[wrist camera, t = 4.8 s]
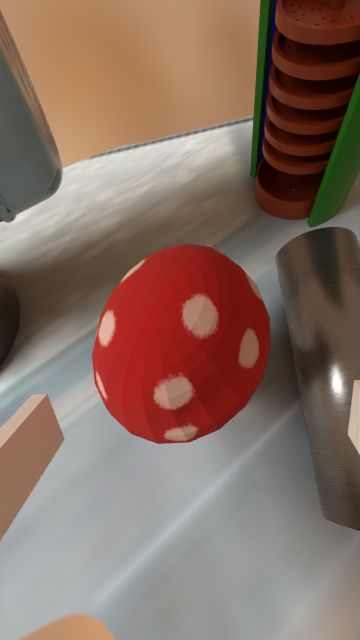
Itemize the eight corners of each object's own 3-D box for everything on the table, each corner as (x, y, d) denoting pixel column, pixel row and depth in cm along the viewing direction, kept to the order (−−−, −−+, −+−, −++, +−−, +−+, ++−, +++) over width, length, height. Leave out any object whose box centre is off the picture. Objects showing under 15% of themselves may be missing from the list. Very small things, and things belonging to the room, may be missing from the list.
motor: (231, 193, 30) (229, -170, 12) (282, 144, 32) (350, -248, 13) (313, 238, 26) (495, -196, 8) (367, 179, 28) (623, -300, 10)
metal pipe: (311, 509, 19) (344, 540, 13) (271, 273, 26) (281, 230, 20) (410, 511, 18) (489, 545, 12) (340, 266, 25) (370, 219, 19)
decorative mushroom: (223, 463, 21) (206, 520, 7) (129, 408, 23) (-17, 371, 10) (273, 346, 23) (332, 220, 10) (183, 309, 26) (129, 170, 12)
